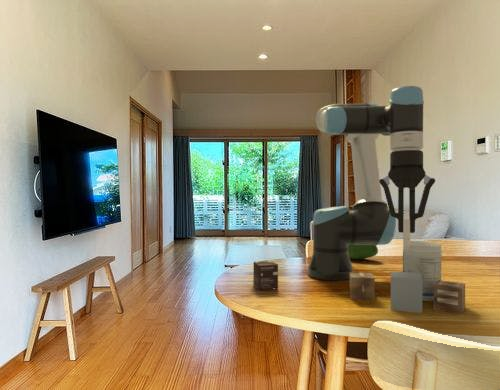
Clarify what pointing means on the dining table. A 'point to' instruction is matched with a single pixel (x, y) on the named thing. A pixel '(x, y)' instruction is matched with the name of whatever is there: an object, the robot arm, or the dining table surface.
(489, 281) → the dining table surface
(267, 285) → the box
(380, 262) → the dining table surface
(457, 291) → the marked cube right
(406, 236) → the robot arm
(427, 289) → the supplement tub
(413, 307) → the plain block
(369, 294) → the marked cube left
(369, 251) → the fruit
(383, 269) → the dining table surface
